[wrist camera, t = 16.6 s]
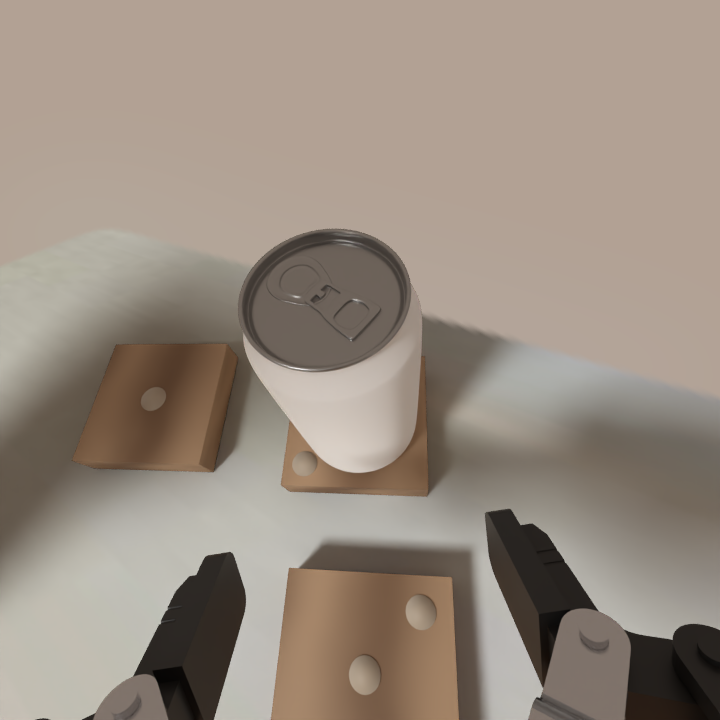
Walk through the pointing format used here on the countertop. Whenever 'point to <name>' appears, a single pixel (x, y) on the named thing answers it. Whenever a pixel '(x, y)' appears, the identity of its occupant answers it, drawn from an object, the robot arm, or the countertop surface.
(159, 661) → the robot arm
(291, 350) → the can
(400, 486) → the tile
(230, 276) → the countertop surface
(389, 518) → the countertop surface
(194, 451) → the tile
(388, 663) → the tile
